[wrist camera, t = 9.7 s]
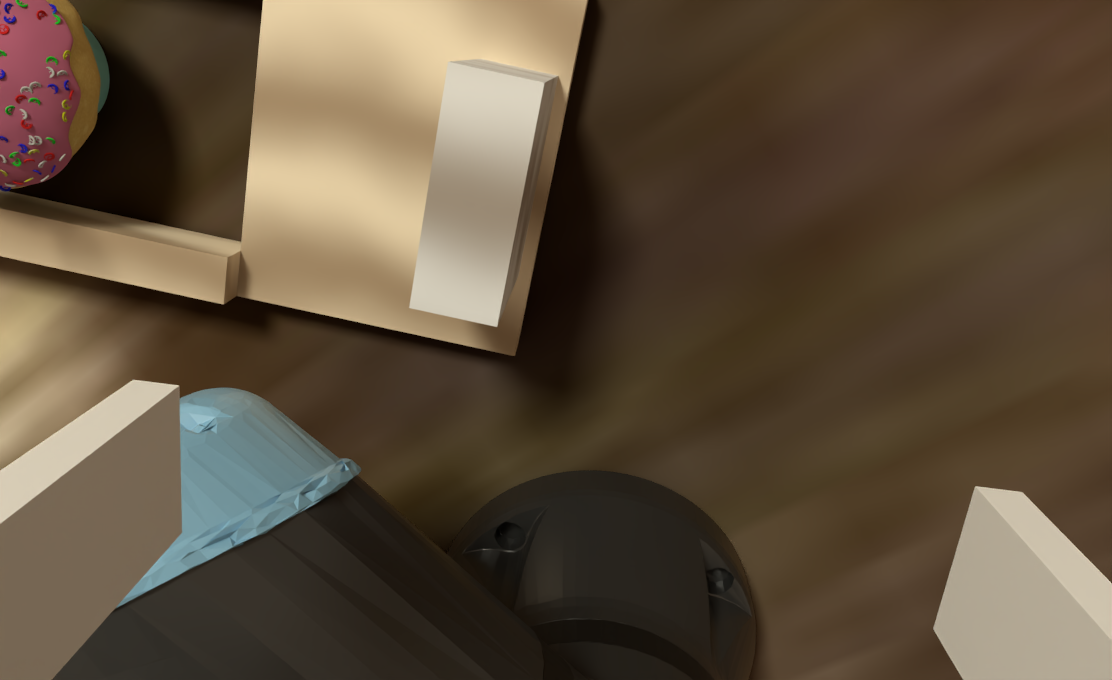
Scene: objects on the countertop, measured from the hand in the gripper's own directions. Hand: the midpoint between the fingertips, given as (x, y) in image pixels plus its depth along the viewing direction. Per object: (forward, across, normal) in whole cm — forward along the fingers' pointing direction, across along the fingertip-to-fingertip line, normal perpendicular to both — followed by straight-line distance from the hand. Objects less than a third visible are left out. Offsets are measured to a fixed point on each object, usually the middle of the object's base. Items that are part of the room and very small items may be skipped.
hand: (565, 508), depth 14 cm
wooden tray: (+23, +15, -3) cm, 28 cm away
